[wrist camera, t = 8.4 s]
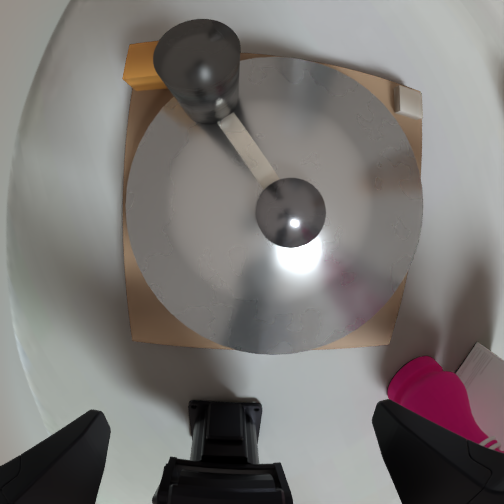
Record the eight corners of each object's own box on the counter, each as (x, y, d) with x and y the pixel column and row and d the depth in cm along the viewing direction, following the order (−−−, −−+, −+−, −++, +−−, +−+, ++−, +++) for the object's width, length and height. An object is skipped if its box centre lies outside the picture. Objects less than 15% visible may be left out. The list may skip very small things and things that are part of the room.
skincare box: (455, 400, 26) (510, 468, 11) (435, 393, 25) (498, 474, 10) (492, 349, 24) (560, 407, 10) (477, 336, 23) (557, 403, 9)
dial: (438, 246, 18) (511, 278, 10) (244, 379, 20) (249, 462, 12) (316, 30, 14) (357, -36, 6) (87, 177, 15) (7, 181, 8)
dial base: (381, 335, 21) (403, 360, 18) (138, 331, 20) (121, 359, 16) (410, 95, 17) (439, 84, 13) (144, 64, 15) (125, 41, 11)
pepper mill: (373, 383, 23) (469, 548, 3) (431, 338, 22) (558, 469, 3) (393, 414, 25) (467, 544, 5) (443, 375, 24) (537, 487, 4)
